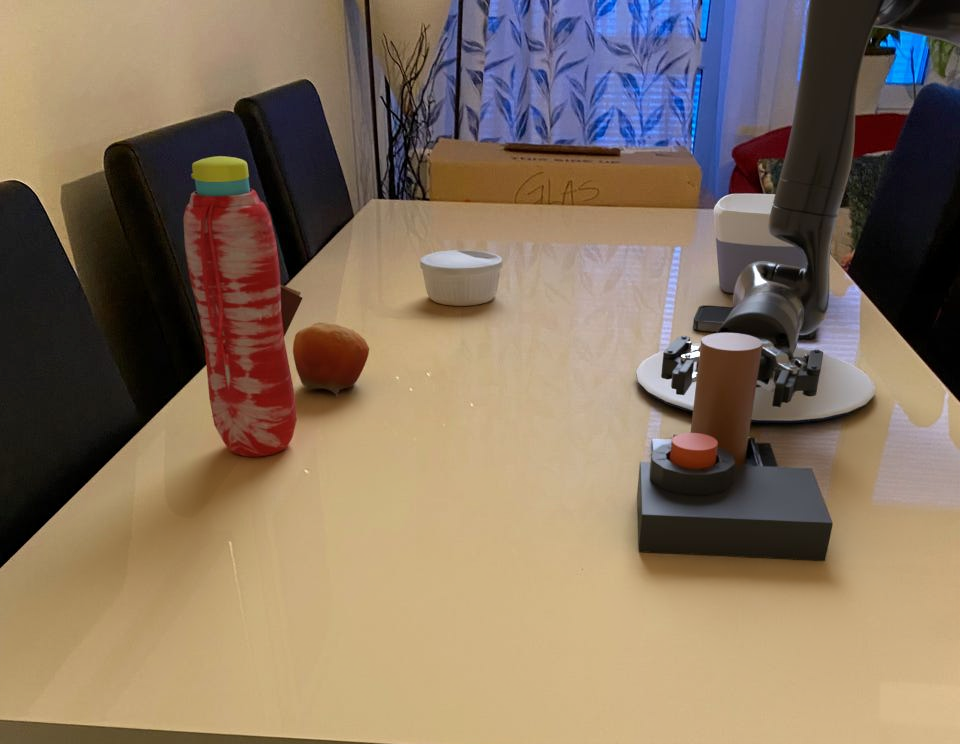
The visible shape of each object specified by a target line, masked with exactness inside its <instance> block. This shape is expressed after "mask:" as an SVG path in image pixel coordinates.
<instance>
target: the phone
mask: <svg viewBox="0 0 960 744" xmlns="http://www.w3.org/2000/svg"><path fill="white" fill-rule="evenodd" d="M732 310H733V306H724V305H711V304H705V305H703V304H702V305H699V306H698V308H697V310H696V312H695V315H694V317H693V322H692V329H693V330H695V331H701V332H712V333H713V332H715V333H717V332H718V330H719V329H720V327H721V326H722V324H723V323H724V321H725V320H726V318H727V317H728V315H729V314H730V313H731V311H732ZM818 330H819V326H818V327H817V329H815V330H814V331H813V332H811V333H809V334H807V335H799V337H798V339H807V340H809V339H815V338H817V335H818Z"/></svg>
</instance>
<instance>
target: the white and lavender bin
mask: <svg viewBox="0 0 960 744" xmlns="http://www.w3.org/2000/svg"><path fill="white" fill-rule="evenodd" d="M775 194H776V193H774V194H773V193H730V194H727V195H724V196H723V197H721V198H720V199H719V200H717V202H716V203H715V205H714V208H713V211H712V212H713V222H714V223H713V225H714V235H715V246H716V247H715V248H716V259H717V270H718V271H717V272H718V282H719V283H718V284H719V287H720V289H721V290H722V291H723V292H725V293H728V294H732V295H734V289H735V285H736V282H737V280H738V278H739V276H740V274H741V272H742V271H743V270H744V269H745V268H746V267H747V266H748V265H749V264H751V263H753V262H757V261H769V262H774V263H778V264H784V265H790V266H795V267H801V268H806V260H805V257H804V254H803V253H802V251H801V250H800V249H798V248H797V247H795V246H793V245H791V244H789V243H787V242H784V241H782V240H779V239H777V238H776V237H774V236H772V235H771V234H770V232H769V230H768V223H769V217H770V213H771V209H772V206H773V205H774V204H773V201H774V197H775Z"/></svg>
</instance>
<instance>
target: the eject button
mask: <svg viewBox="0 0 960 744" xmlns="http://www.w3.org/2000/svg"><path fill="white" fill-rule="evenodd" d="M675 435H676V436H674V437H673V436H672V438H671V440H672V442H671V452H670V462H672V463H673V464H675V465H678V466H682V467H686V468H700V469H702V468H707V467H712V466H714V465H715V463H716V455H717V447H718V442H717V440H716V439H715V438H713V437H711V436H708V435H705V434H700V433H691V432H685V433H679V434H675Z"/></svg>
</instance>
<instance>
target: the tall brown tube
mask: <svg viewBox="0 0 960 744" xmlns="http://www.w3.org/2000/svg"><path fill="white" fill-rule="evenodd" d="M700 343H701V346H700V355H699V363H698V372H697V381H696V390H695V398H694V407H693V413H692V417H691V425H690V433H700V434H705V435H708V436H711V437H713V438H715V439H716V440H717V442H718V447H721V448H723V449H724V450H726V451H728V452H729V453H731V454H733V456H734V460H735V465H740V466H744V465H745V458H746V451H747V445H748V438H750V431H751V424H752V422H751V418H752V411H753V405H754V398H755V391H756V385H757V378H758V371H759V364H760V358H761V351H762V341H761V340H759V339H758V338H756V337H753V336H750V335H745V334H739V333H717V332H715V333H711V334H707V335H705V336H702V338H701V340H700Z"/></svg>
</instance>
